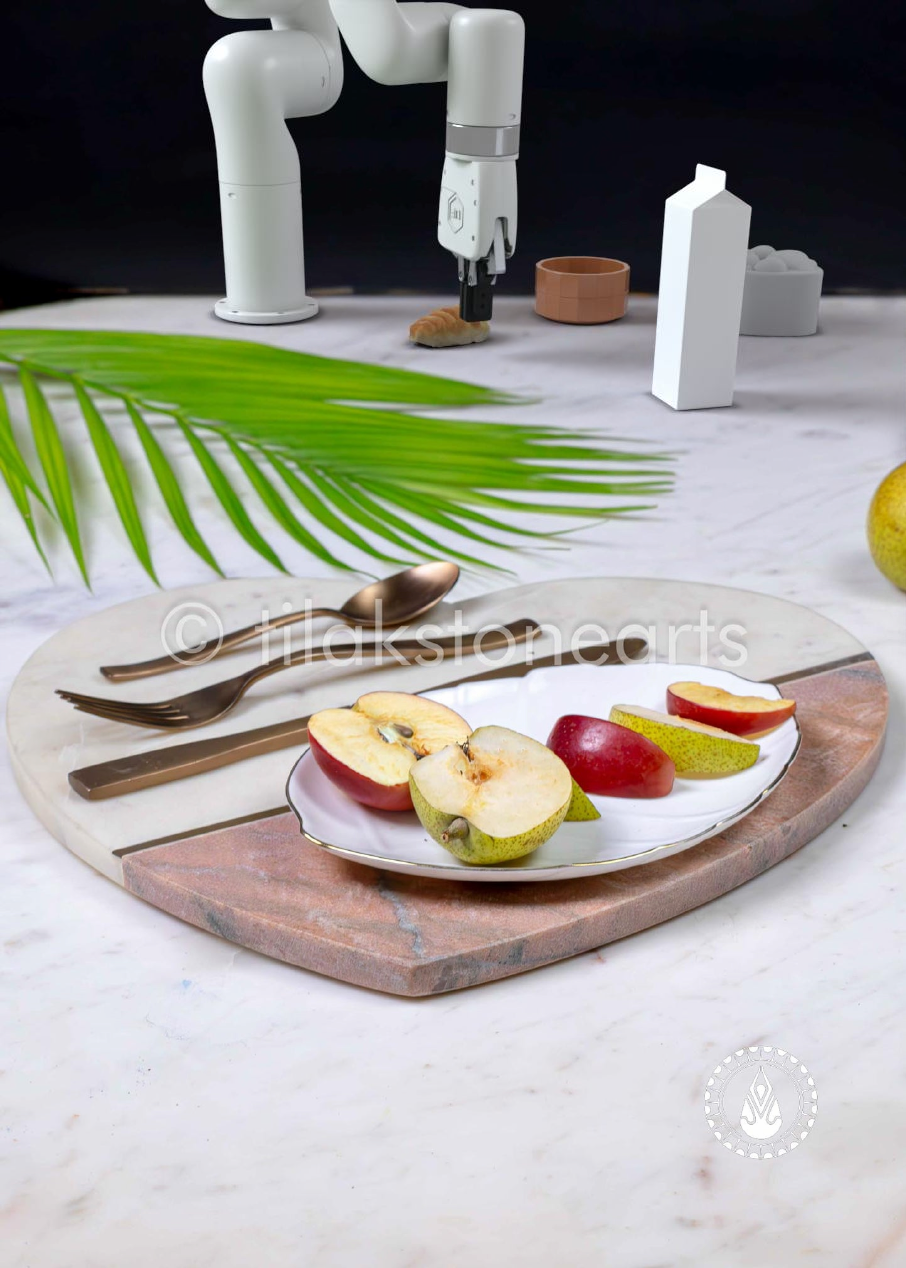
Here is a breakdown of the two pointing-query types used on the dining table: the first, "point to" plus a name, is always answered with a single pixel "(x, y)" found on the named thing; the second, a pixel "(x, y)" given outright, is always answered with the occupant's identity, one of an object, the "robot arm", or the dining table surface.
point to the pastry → (447, 329)
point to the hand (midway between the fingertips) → (475, 319)
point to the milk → (700, 293)
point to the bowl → (581, 289)
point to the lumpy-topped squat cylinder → (780, 293)
